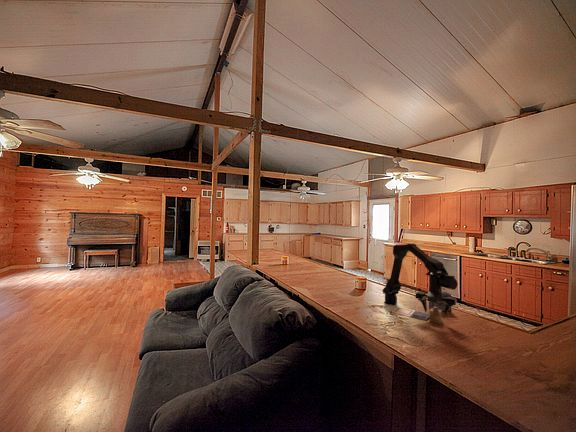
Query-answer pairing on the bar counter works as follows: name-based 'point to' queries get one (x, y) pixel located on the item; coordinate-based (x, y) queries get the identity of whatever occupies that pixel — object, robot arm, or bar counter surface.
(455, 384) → the bar counter surface
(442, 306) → the small box
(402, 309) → the print sheet
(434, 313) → the stamp
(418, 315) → the ink pad
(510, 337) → the bar counter surface
